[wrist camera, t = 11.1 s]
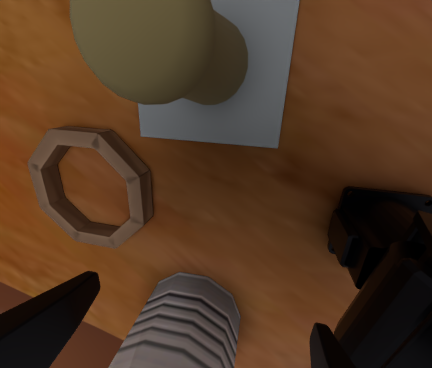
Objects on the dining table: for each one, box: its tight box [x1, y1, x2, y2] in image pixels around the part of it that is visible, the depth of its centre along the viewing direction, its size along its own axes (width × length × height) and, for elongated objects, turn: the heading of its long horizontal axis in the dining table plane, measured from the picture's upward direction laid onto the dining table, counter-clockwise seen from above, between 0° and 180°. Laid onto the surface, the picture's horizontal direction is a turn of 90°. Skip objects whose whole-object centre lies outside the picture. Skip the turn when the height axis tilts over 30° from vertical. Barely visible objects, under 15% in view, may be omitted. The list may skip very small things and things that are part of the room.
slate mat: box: [138, 0, 299, 148], centre depth 17 cm, size 12×12×1 cm
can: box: [109, 272, 241, 368], centre depth 23 cm, size 11×11×12 cm
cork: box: [70, 0, 248, 105], centre depth 12 cm, size 6×6×11 cm
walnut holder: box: [27, 126, 153, 249], centre depth 24 cm, size 12×12×2 cm
